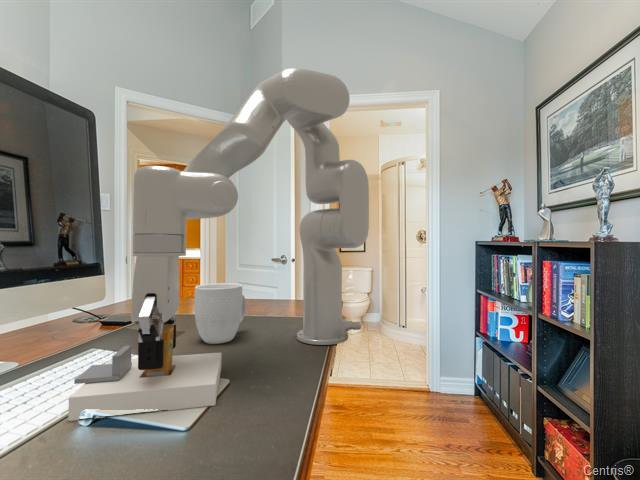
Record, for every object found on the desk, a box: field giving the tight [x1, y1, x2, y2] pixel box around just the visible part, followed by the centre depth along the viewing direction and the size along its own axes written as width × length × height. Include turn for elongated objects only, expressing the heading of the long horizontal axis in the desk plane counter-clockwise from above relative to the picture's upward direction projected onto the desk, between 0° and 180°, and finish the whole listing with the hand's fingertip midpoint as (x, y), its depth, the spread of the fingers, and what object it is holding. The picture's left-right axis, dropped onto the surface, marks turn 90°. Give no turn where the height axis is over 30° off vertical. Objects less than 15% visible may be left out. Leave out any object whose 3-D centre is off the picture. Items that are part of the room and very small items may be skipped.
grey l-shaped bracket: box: [73, 345, 132, 385], centre depth 49 cm, size 6×6×3 cm
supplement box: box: [145, 324, 175, 377], centre depth 51 cm, size 3×3×10 cm
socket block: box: [67, 352, 222, 422], centre depth 50 cm, size 18×14×3 cm
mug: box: [193, 282, 247, 345], centre depth 79 cm, size 15×11×13 cm
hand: (158, 357), depth 50 cm, fingers open, 8 cm apart
